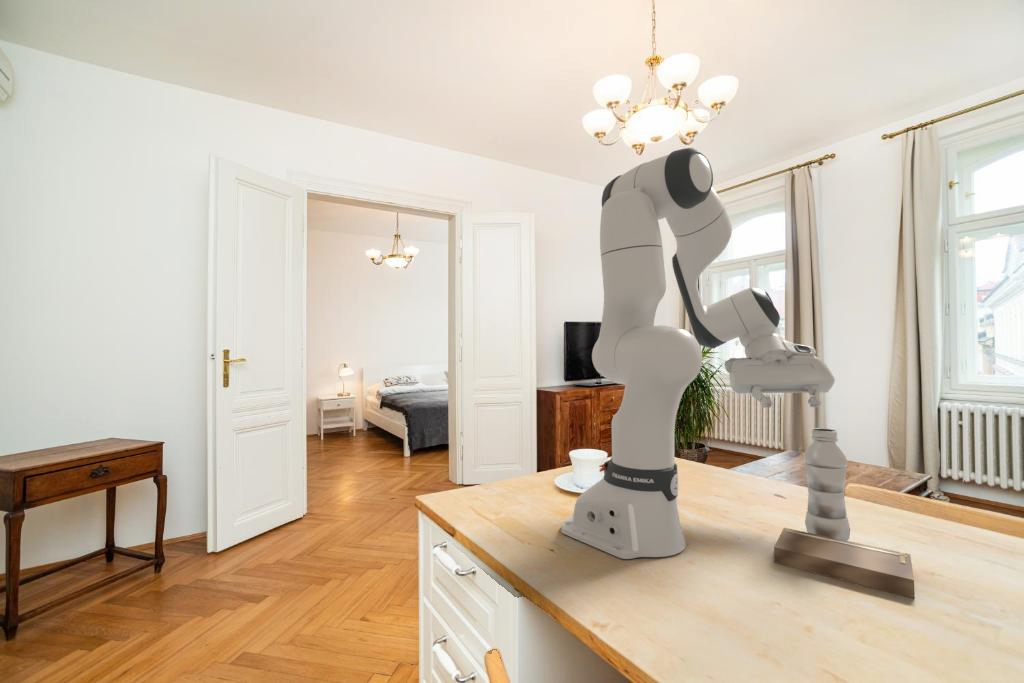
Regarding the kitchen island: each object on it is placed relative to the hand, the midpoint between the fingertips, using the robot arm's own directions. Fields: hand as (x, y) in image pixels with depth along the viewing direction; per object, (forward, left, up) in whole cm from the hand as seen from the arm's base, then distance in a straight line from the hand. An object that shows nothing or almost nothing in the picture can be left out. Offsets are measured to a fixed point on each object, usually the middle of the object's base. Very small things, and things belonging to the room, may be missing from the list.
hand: (791, 405), depth 93 cm
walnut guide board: (+9, -21, -23) cm, 32 cm away
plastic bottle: (+6, -11, -23) cm, 26 cm away
